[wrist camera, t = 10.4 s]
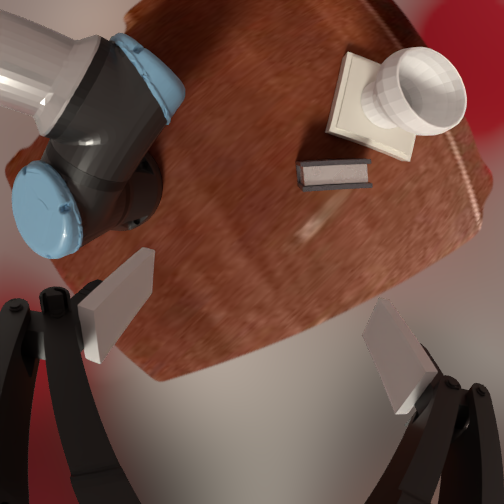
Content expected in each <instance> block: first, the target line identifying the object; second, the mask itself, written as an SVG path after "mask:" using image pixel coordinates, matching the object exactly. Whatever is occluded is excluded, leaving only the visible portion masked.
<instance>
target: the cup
mask: <svg viewBox="0 0 504 504" xmlns="http://www.w3.org/2000/svg"><path fill="white" fill-rule="evenodd" d="M466 100H467V98H466V91H465V87H464V84H463V82H462V79H461V77H460V75H459V73H458V72H457V70H456V68H455V67H454V66H453V65H452V64H451V62H450V61H449V60H448V59H446V58H445V57H444V56H443V55H441V54H440V53H438V52H436V51H434V50H432V49H429V48H425V47H413V48H406V49H401V50H399V51H397V52H395V53H393V54H392V55H390V56H389V57H388V58H387V59H386V60H385V61H384V62H383V63H382V64H381V66H380V68H379V70H378V73H377V76H376V80H375V81H374V82H372V83H370V84H368V85H367V86H366V87H365V88H364V90H363V92H362V95H361V105H362V109H363V111H364V113H365V115H366V116H367V118H368V119H369V120H370V121H371V122H372V123H373V124H375V125H376V126H378V127H381V128H384V129H392V128H396V127H400V128H401V129H403V130H405V131H407V132H410V133H413V134H415V135H425V136H427V135H437V134H441V133H444V132H446V131H447V130H449V129H451V128H453V127H454V126H456V125H457V124H459V122H460V121H461V119H462V118H463V116H464V113H465V110H466V102H467V101H466Z"/></svg>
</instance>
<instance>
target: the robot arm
mask: <svg viewBox="0 0 504 504" xmlns="http://www.w3.org/2000/svg"><path fill="white" fill-rule="evenodd" d="M184 98H185V88H184V85H183V83H182V82H181V80H180V79H179V78H178V77H177V76H176V75H175V74H174V73H173V72H172V70H170V69H169V68H168V67H167V66H166V65H165V64H164V63H163V62H162V61H161V60H160V59H159V58H157V57H156V56H155V55H154V54H153V53H151V52H150V51H149V50H148V49H145V48H144V47H143V46H142V45H140V44H139V43H138V42H137V41H136V40H134V39H133V38H131V37H129V36H128V35H126V34H123V33H117V34H116V35H115V36H112V37H111V38H110V40H109V41H108V40H106V39H104V38H103V37H101V36H99V35H94V36H91V37H87V38H84V39H81V40H73V39H71V38H69V37H67V36H65V35H63V34H61V33H58V32H56V31H54V30H52V29H49V28H47V27H45V26H42V25H40V24H38V23H35V22H33V21H30V20H27V19H25V18H23V17H20V16H17V15H15V14H12V13H9V12H6V11H4V10H1V9H0V106H2V107H6V108H9V109H12V110H15V111H18V112H21V113H24V114H27V115H30V116H32V117H33V118H34V119H35V122H36V125H37V128H38V131H39V133H40V135H42V136H44V137H47V138H50V140H49V143H48V145H47V147H46V149H45V151H44V154H43V156H42V158H41V160H40V161H32V162H31V163H29V164H28V165H27V166H25V167H23V168H22V169H21V170H20V172H19V173H18V175H17V177H16V179H15V181H14V185H13V190H12V209H13V215H14V217H15V220H16V225H17V227H18V230H19V232H20V234H21V236H22V237H23V239H24V241H25V242H26V243H27V245H28V246H29V247H30V248H31V249H32V250H33V251H34V252H36V253H37V254H39V255H40V256H43V257H45V258H48V259H58V258H61V257H63V256H66V255H68V254H72V253H74V252H76V251H77V250H78V249H79V248H80V247H82V246H84V245H85V244H87V243H89V242H90V241H92V240H94V239H95V238H97V237H99V236H101V235H102V234H104V233H106V232H108V231H109V230H115V231H126V230H131V229H134V228H136V227H138V226H140V225H141V224H143V223H145V222H146V221H147V220H148V219H149V218H150V217H151V216H152V215H153V214H154V212H155V211H156V209H157V207H158V205H159V202H160V199H161V195H162V178H161V173H160V170H159V167H158V165H157V163H156V162H155V160H154V159H153V157H152V156H151V155H150V154H149V153H148V152H147V151H148V150H149V148H150V147H151V145H152V144H153V142H154V141H155V140H156V138H157V137H158V135H159V134H160V132H161V131H162V130H163V128H164V127H165V126H166V125H169V123H170V122H171V117H172V116H173V115H174V113H175V112H176V110H177V109H178V107H179V106H180V105H181V103H182V102H183V100H184ZM154 256H155V250H152V249H148V248H144V247H142V248H141V249H140V250H139V251H138V252H136V253H135V254H134V255H133V256H132V257H130V258H129V259H128V260H127V261H126V262H125V263H123V264H122V265H121V266H120V267H119V268H118V269H117V270H115V271H114V272H113V273H112V274H111V275H110V276H109V277H108V278H106V279H105V280H104V281H101V280H98V279H97V280H95V281H92V282H90V283H88V284H87V285H86V286H85V287H83V289H81V290H80V291H79V292H78V293H76V294H75V295H74V296H73V297H72V298H71V299H70V294H69V291H68V290H66V289H65V288H62V287H49V288H47V289H45V290H43V291H42V292H41V293H40V296H39V299H40V304H41V310H42V312H37V311H31V310H30V308H29V304H28V302H27V301H26V300H24V299H20V298H17V299H11V300H9V301H8V302H6V303H5V304H4V305H3V307H2V309H1V311H0V504H29V489H28V445H29V444H28V443H29V428H30V418H31V409H32V400H33V394H34V388H35V382H36V376H37V371H38V366H39V361H40V359H45V360H46V368H47V375H48V382H49V388H50V394H51V399H52V405H53V410H54V415H55V419H56V423H57V427H58V431H59V435H60V439H61V443H62V446H63V450H64V453H65V456H66V459H67V463H68V465H69V469H70V472H71V477H70V479H71V484H72V487H73V489H74V492H75V494H76V497H77V500H78V502H79V504H141V503H140V501H139V499H138V497H137V496H136V494H135V492H134V490H133V488H132V486H131V485H130V483H129V481H128V479H127V477H126V475H125V473H124V471H123V469H122V468H121V466H120V464H119V462H118V460H117V458H116V456H115V453H114V451H113V449H112V447H111V444H110V442H109V440H108V437H107V434H106V432H105V429H104V427H103V424H102V422H101V419H100V416H99V414H98V411H97V408H96V405H95V402H94V399H93V396H92V393H91V390H90V386H89V383H88V379H87V376H86V373H85V369H84V365H83V361H82V358H81V351H82V350H83V349H84V352H85V357H86V359H89V360H91V361H94V362H96V363H99V364H101V363H102V361H103V360H104V359H105V357H106V356H107V354H108V353H109V351H110V350H111V348H112V347H113V346H114V344H115V343H116V341H117V340H118V339H119V337H120V336H121V334H122V333H123V332H124V330H125V329H126V327H127V326H128V325H129V323H130V322H131V321H132V319H133V318H134V316H135V315H136V314H137V312H138V311H139V310H140V308H141V307H142V306H143V304H144V303H145V302H146V300H147V299H148V298H149V296H150V295H151V294H152V284H153V269H154ZM362 336H363V338H364V341H365V343H366V345H367V347H368V350H369V352H370V354H371V357H372V359H373V361H374V363H375V366H376V368H377V370H378V373H379V375H380V378H381V380H382V382H383V385H384V388H385V390H386V392H387V395H388V397H389V400H390V403H391V405H392V408H393V410H394V412H395V414H407V413H408V412H409V411H410V410H411V408H412V407H413V406H414V405H415V408H416V410H417V411H416V412H415V413H414V415H413V416H412V417H411V419H409V421H408V422H407V423H406V424H405V426H407V425H408V424H409V425H408V427H407V429H406V431H405V434H404V436H403V438H402V440H401V442H400V444H399V446H398V448H397V450H396V452H395V454H394V455H393V457H392V459H391V461H390V463H389V465H388V466H387V468H386V470H385V472H384V473H383V475H382V477H381V478H380V480H379V482H378V483H377V485H376V487H375V488H374V490H373V491H372V493H371V494H370V496H369V497H368V499H367V500H366V502H365V504H431V499H432V497H433V495H434V492H435V489H436V487H437V484H438V481H439V478H440V476H441V484H440V493H439V501H438V504H504V479H503V466H502V456H501V448H500V441H499V435H498V430H497V424H496V419H495V414H494V409H493V405H492V400H491V397H490V393H489V392H488V390H487V388H486V387H484V385H481V384H479V383H474V384H473V385H472V387H471V388H470V389H469V390H465V389H461V386H460V384H459V382H458V381H457V380H456V379H454V378H453V377H451V376H446V375H445V376H444V375H443V373H442V372H441V370H440V369H439V367H438V366H437V364H436V362H435V361H434V359H433V358H432V356H430V353H429V352H428V350H427V349H426V348H425V347H424V346H423V345H422V344H421V343H419V341H418V340H417V338H416V337H415V335H414V334H413V332H412V331H411V330H410V328H409V327H408V325H407V324H406V322H405V321H404V320H403V318H402V317H401V315H400V314H399V313H398V311H397V310H396V308H395V307H394V305H393V304H392V303H391V301H390V300H389V299H384V298H378V301H377V303H376V305H375V308H374V310H373V312H372V314H371V317H370V319H369V321H368V323H367V325H366V328H365V330H364V332H363V334H362ZM468 424H469V425H468ZM467 425H468V427H467V429H466V426H467Z"/></svg>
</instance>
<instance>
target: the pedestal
mask: <svg viewBox="0 0 504 504" xmlns="http://www.w3.org/2000/svg"><path fill="white" fill-rule="evenodd" d="M380 66H381V64H379V63H376V62H374V61H371V60H369V59H366V58H364V57H361V56H359V55H356V54H353V53H350V52H347V53H346V54H345V56H344V57H343V60H342V64H341V69H340V73H339V77H338V82H337V86H336V90H335V95H334V99H333V103H332V107H331V111H330V115H329V119H328V123H327V127H326V131H325V133H328V134H331V135H334V136H337V137H340V138H343V139H346V140H349V141H352V142H355V143H357V144H360V145H363V146H366V147H368V148H371V149H374V150H376V151H379V152H381V153H384V154H386V155H389V156H391V157H394V158H396V159H399V160H401V161H409V162H410V158H411V154H412V150H413V146H414V142H415V137H416V135H415V134H413V133H410V132H407V131H405V130H403V129H401V128H400V127H396V128H392V129H384V128H381V127H378V126H376V125H375V124H373V123H372V122H371V121H370V120H369V119H368V118H367V116H366V115H365V113H364V111H363V109H362V105H361V95H362V92H363V90H364V88H365V87H366V86H367V85H368V84H370V83H372V82H374V81H375V80H376V76H377V73H378V70H379V68H380Z"/></svg>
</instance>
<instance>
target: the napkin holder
mask: <svg viewBox="0 0 504 504" xmlns="http://www.w3.org/2000/svg"><path fill="white" fill-rule="evenodd" d="M367 164H371V159H361V158H346V159H323V160H306V161H296V171H297V182H298V187H299V188H300V189H301V190H302V191H303V192H306V191H320V190H335V189H354V188H372V183H369V182H368V176H367Z"/></svg>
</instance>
